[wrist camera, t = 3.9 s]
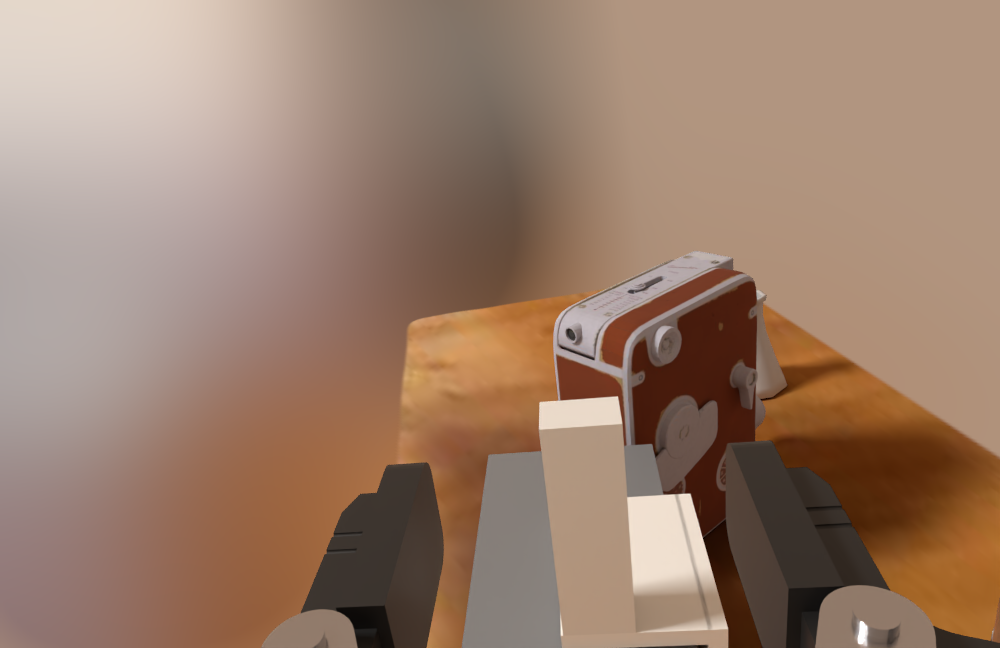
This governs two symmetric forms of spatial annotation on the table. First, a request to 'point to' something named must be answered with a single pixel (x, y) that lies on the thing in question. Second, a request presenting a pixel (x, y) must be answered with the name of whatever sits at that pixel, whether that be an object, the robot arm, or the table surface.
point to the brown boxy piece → (671, 368)
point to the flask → (766, 359)
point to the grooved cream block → (621, 541)
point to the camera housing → (527, 552)
